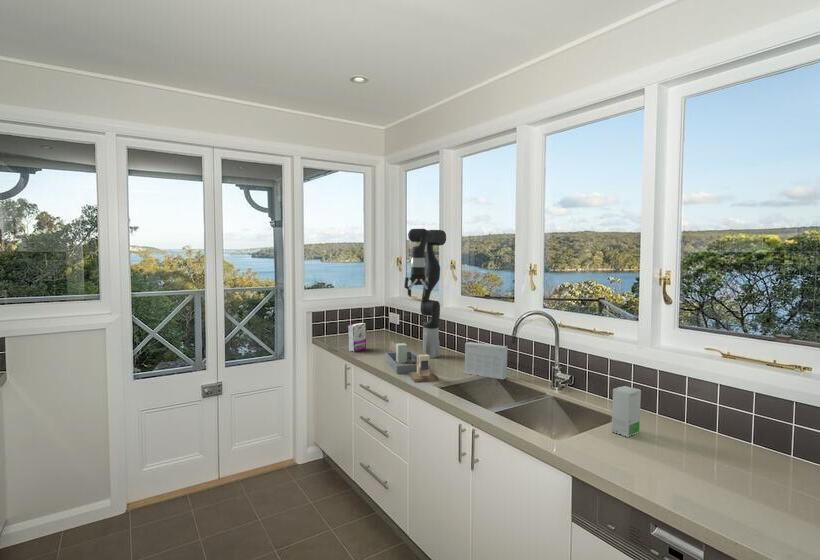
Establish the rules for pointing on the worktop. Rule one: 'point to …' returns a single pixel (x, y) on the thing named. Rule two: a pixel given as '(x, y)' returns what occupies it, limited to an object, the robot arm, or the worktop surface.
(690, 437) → the worktop surface
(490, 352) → the skincare box
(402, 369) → the grey bin
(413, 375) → the walnut board
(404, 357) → the sage block
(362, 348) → the candy bar box
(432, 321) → the robot arm
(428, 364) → the birch block
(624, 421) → the skincare box
